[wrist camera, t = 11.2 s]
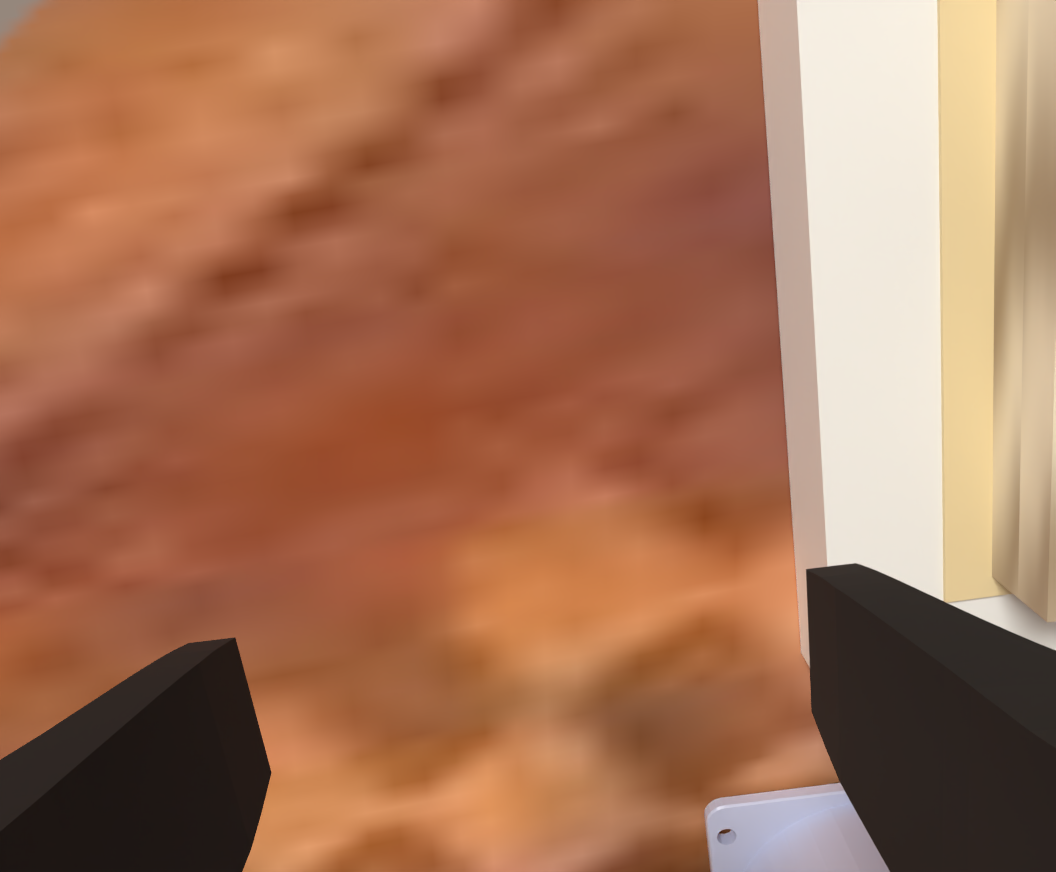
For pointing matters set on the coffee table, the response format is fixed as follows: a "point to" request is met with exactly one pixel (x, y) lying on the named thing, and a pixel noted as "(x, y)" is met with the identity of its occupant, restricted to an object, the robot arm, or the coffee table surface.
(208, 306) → the coffee table surface
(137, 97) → the coffee table surface
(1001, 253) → the tan stepped block
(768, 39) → the dock
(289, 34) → the coffee table surface
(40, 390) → the coffee table surface
